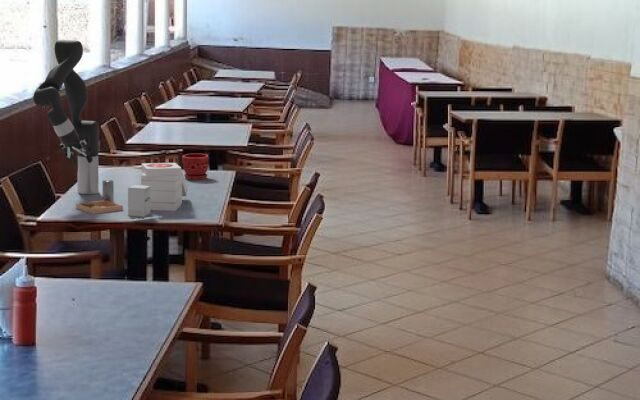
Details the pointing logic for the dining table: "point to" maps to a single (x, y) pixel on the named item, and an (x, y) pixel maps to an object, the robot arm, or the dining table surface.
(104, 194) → the disc
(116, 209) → the tray
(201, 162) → the plant pot
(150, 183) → the pizza boxes
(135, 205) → the supplement box
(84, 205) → the walnut block
